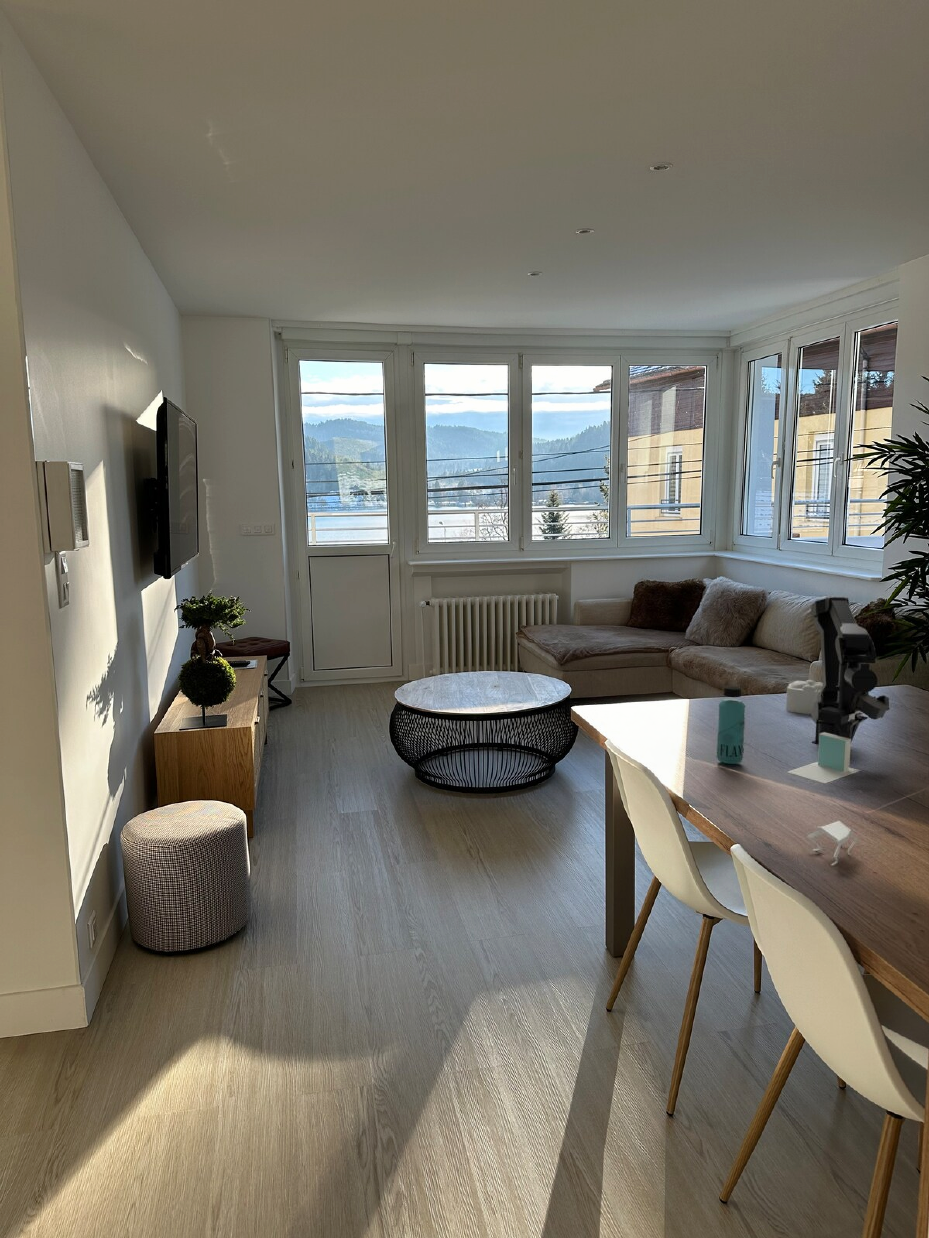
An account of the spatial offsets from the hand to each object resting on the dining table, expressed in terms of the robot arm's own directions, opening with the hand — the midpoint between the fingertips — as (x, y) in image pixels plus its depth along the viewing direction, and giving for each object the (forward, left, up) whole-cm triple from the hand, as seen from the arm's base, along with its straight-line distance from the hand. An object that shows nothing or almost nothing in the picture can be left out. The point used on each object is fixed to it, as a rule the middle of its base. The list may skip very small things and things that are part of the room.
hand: (847, 744), depth 208 cm
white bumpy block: (-36, +40, -6) cm, 54 cm away
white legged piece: (+28, -50, -6) cm, 58 cm away
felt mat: (0, -10, -5) cm, 11 cm away
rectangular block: (0, -6, -5) cm, 7 cm away
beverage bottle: (-17, -23, -5) cm, 29 cm away
